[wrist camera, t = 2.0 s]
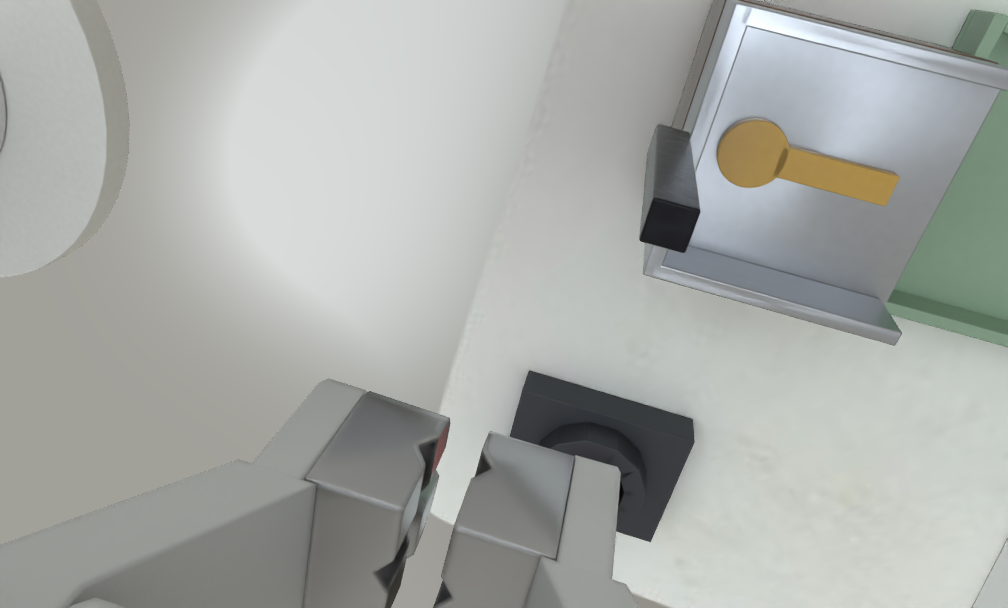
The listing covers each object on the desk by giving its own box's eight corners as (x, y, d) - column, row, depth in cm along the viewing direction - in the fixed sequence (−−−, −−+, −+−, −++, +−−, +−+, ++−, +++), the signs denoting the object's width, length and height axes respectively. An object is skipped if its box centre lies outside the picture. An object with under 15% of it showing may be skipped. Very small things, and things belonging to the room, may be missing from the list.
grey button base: (501, 470, 45) (487, 513, 42) (529, 370, 42) (516, 407, 38) (651, 517, 45) (650, 564, 41) (693, 419, 41) (696, 462, 37)
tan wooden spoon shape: (706, 174, 28) (707, 178, 27) (730, 109, 27) (731, 112, 26) (873, 219, 27) (877, 224, 27) (904, 154, 26) (909, 158, 25)
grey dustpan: (617, 234, 30) (591, 381, 20) (695, -11, 26) (716, 7, 15) (877, 307, 29) (998, 503, 19) (1006, 66, 25) (1265, 144, 14)
